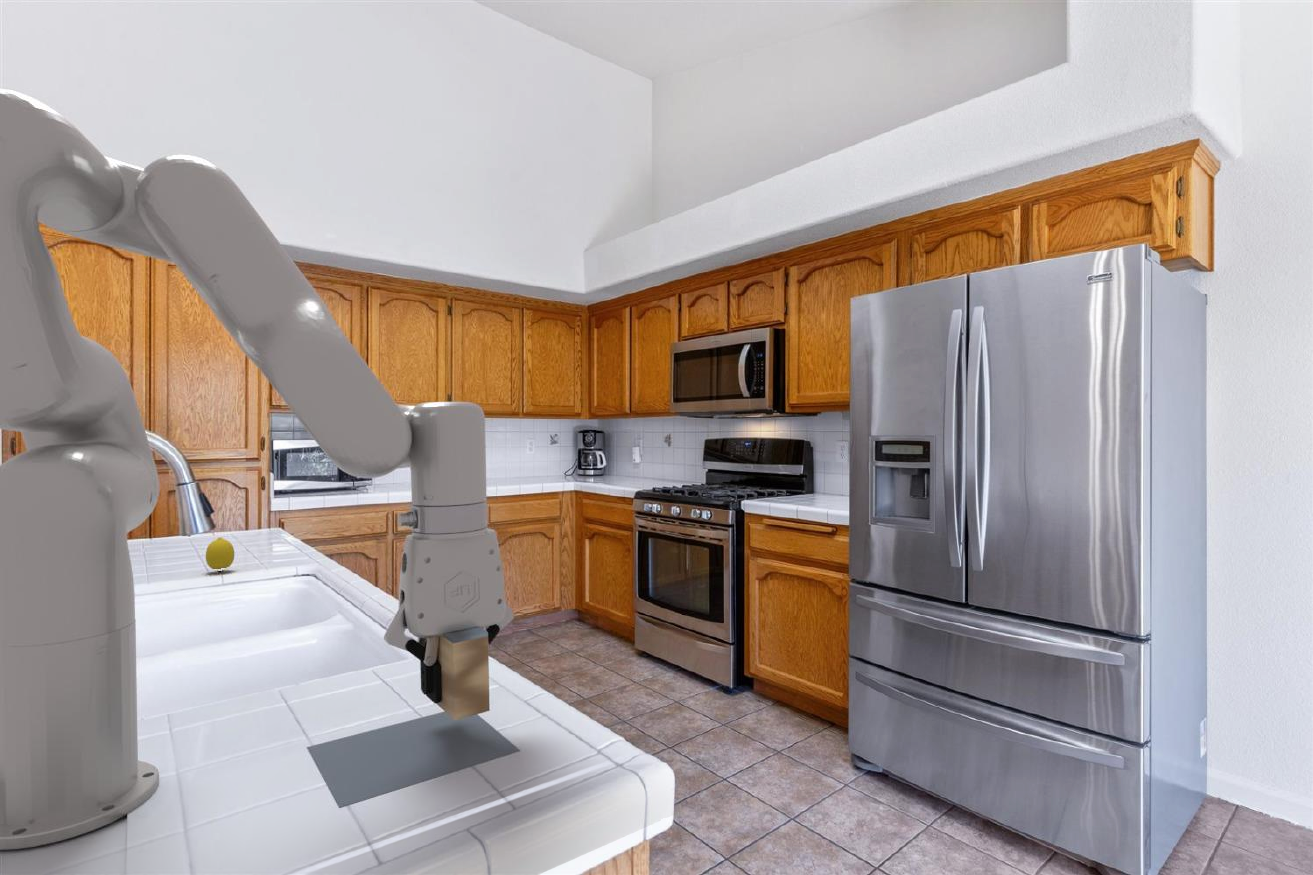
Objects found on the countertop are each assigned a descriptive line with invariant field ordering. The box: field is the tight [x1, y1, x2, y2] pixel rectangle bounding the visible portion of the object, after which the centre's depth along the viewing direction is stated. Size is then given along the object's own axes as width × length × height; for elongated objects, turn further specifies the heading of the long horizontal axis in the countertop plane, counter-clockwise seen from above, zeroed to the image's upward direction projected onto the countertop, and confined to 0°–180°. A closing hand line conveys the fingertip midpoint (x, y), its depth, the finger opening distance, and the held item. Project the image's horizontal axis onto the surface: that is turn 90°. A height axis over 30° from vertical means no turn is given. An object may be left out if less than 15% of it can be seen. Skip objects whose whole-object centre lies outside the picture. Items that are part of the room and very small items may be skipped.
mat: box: [306, 710, 521, 809], centre depth 70 cm, size 17×14×1 cm
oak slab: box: [419, 627, 491, 720], centre depth 72 cm, size 4×10×8 cm, turn 37°
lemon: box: [205, 537, 235, 570], centre depth 156 cm, size 6×6×8 cm
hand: (453, 691), depth 72 cm, fingers closed on oak slab, 3 cm apart
